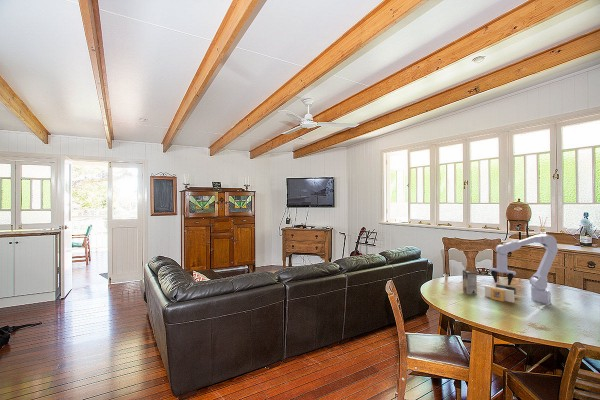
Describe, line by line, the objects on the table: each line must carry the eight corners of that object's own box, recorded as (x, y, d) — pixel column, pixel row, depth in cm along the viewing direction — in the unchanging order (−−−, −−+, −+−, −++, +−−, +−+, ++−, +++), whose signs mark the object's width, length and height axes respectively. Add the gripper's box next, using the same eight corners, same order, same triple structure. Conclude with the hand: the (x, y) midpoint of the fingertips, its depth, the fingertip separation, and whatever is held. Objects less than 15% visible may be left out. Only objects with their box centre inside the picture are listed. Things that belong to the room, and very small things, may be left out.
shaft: (516, 294, 191) (516, 287, 191) (506, 299, 180) (505, 292, 181) (497, 290, 200) (497, 283, 200) (486, 295, 189) (486, 288, 189)
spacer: (504, 301, 184) (504, 290, 184) (503, 301, 183) (503, 290, 183) (491, 298, 190) (491, 287, 190) (490, 298, 189) (490, 287, 189)
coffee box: (462, 292, 208) (462, 269, 208) (472, 292, 206) (471, 270, 206) (467, 296, 199) (466, 272, 199) (477, 296, 197) (477, 273, 197)
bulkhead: (514, 304, 182) (514, 290, 182) (513, 305, 181) (513, 291, 181) (486, 297, 195) (486, 285, 195) (484, 298, 194) (484, 285, 194)
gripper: (487, 262, 195) (487, 282, 195) (512, 265, 183) (513, 287, 183) (491, 260, 199) (492, 280, 199) (516, 264, 188) (517, 285, 187)
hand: (502, 283), depth 191 cm, fingers open, 7 cm apart
